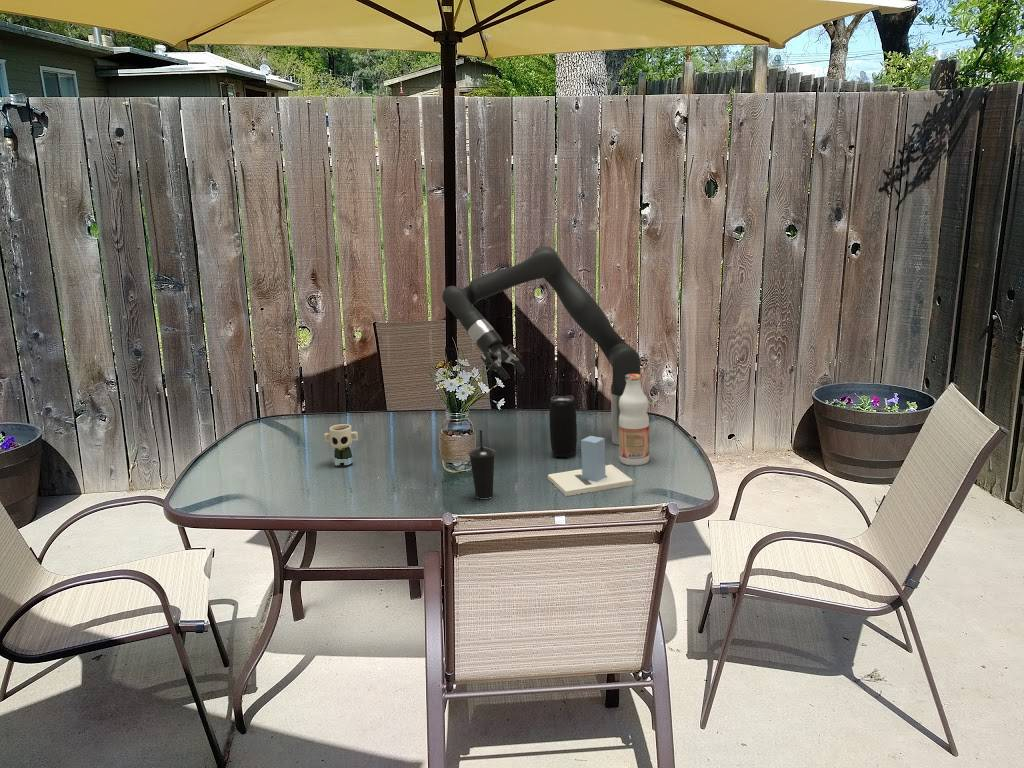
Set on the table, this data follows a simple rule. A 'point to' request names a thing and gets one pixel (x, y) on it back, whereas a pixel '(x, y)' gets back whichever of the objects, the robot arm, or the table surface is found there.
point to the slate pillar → (593, 458)
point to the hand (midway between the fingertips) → (515, 375)
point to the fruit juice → (633, 423)
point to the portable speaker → (563, 426)
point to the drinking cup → (482, 469)
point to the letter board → (588, 481)
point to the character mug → (341, 440)
